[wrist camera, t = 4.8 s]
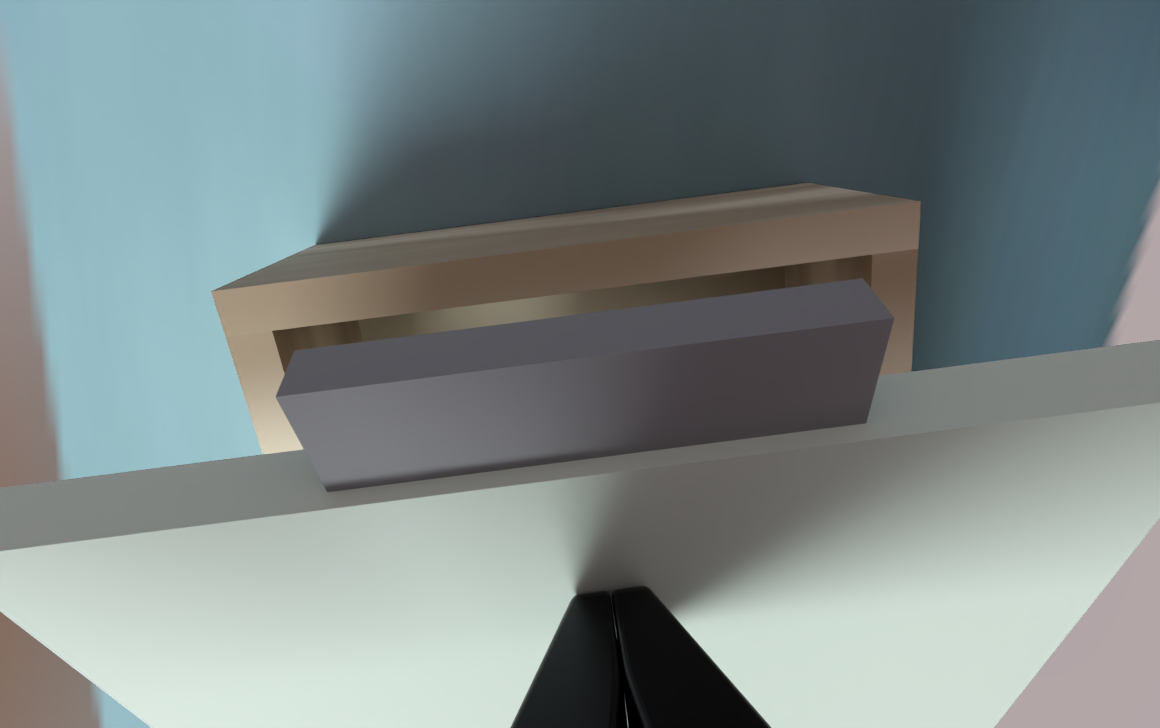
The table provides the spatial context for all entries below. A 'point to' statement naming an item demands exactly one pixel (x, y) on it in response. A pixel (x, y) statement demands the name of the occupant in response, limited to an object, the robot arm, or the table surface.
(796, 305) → the lid
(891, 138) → the table surface
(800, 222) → the box
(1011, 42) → the table surface
